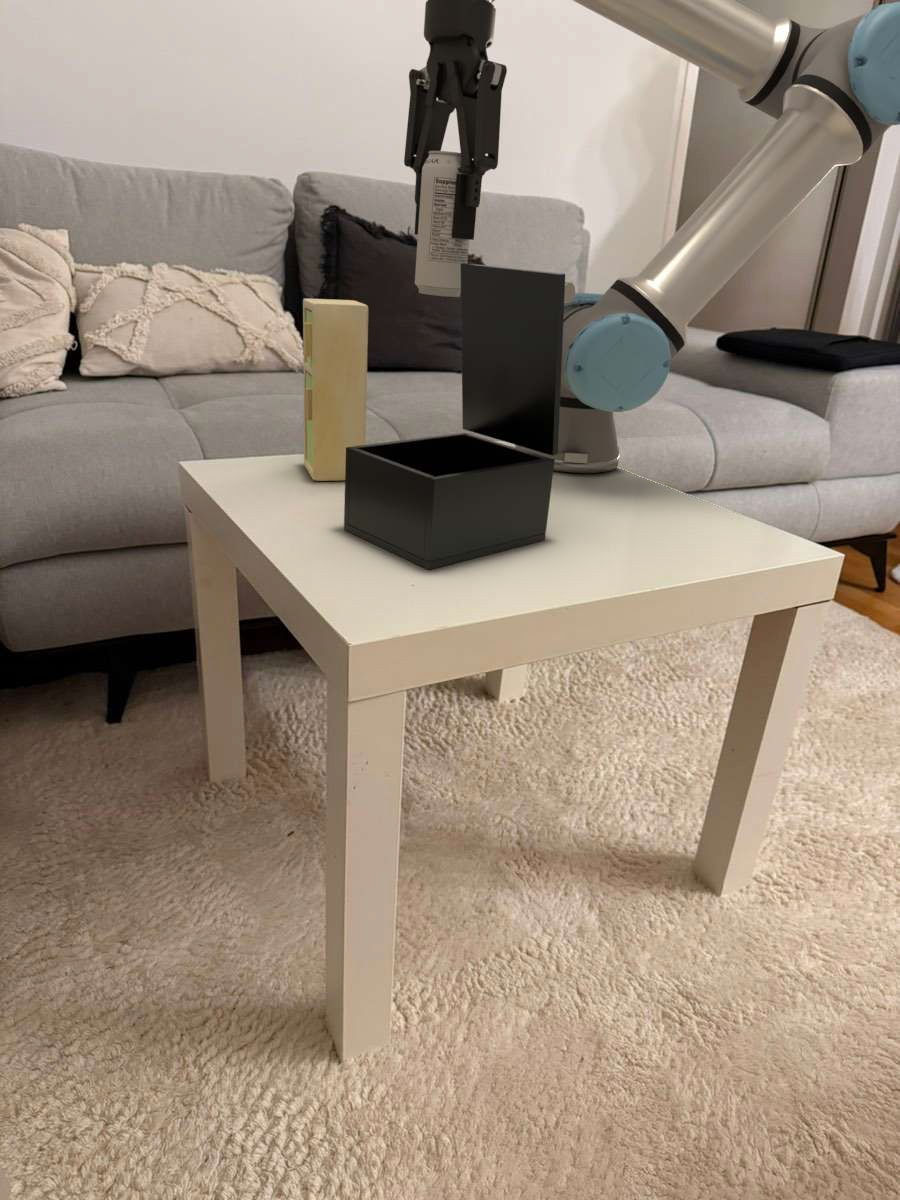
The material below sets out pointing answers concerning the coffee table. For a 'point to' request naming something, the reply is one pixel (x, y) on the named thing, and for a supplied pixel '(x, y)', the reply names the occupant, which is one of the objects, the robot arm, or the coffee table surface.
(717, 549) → the coffee table surface
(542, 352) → the box lid
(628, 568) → the coffee table surface
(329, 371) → the toy refrigerator
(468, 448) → the black box
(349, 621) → the coffee table surface
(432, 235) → the energy drink can
